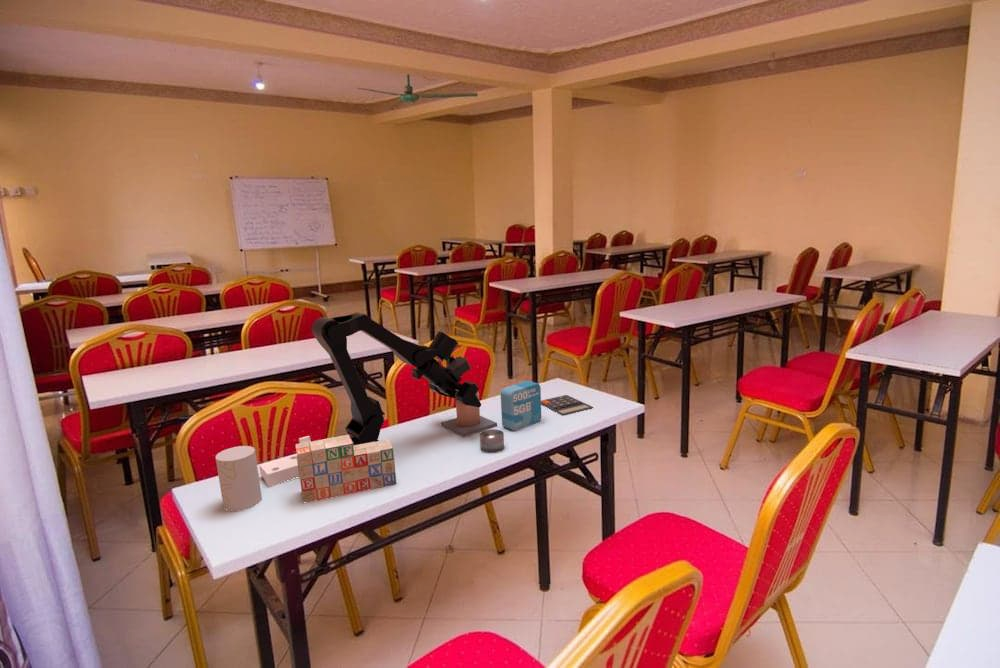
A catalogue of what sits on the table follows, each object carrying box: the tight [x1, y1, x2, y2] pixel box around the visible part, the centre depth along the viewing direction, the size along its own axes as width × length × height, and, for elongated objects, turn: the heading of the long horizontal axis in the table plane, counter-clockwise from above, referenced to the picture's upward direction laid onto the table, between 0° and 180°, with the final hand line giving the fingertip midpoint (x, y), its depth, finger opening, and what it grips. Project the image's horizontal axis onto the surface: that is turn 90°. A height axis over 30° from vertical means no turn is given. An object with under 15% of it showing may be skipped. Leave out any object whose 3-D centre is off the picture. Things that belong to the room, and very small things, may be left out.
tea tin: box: [479, 428, 505, 454], centre depth 158 cm, size 6×6×4 cm
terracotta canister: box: [455, 390, 481, 427], centre depth 174 cm, size 7×7×9 cm
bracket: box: [259, 435, 312, 487], centre depth 148 cm, size 13×7×8 cm, turn 127°
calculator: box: [541, 394, 594, 416], centre depth 189 cm, size 12×1×15 cm
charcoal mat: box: [440, 415, 498, 438], centre depth 175 cm, size 12×12×1 cm
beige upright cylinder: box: [215, 445, 263, 512], centre depth 134 cm, size 8×8×12 cm
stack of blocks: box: [295, 434, 397, 503], centre depth 139 cm, size 21×6×12 cm, turn 111°
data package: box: [500, 380, 542, 432], centre depth 173 cm, size 12×4×12 cm, turn 131°
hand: (471, 402), depth 174 cm, fingers open, 9 cm apart
